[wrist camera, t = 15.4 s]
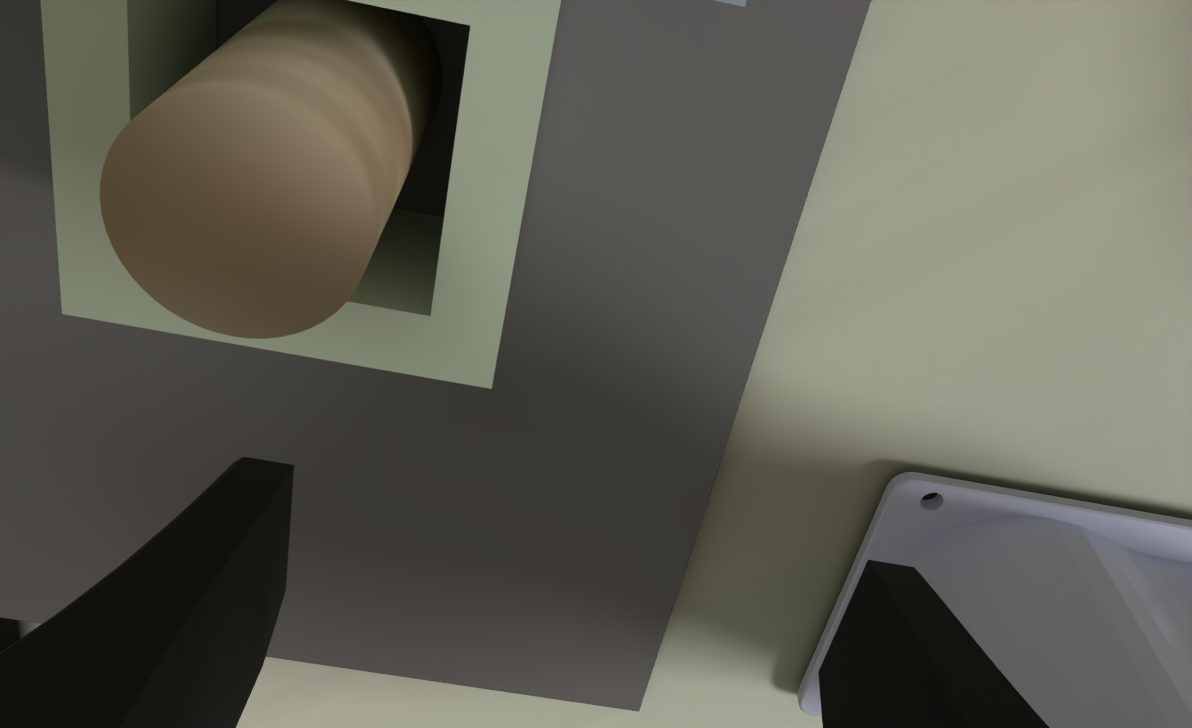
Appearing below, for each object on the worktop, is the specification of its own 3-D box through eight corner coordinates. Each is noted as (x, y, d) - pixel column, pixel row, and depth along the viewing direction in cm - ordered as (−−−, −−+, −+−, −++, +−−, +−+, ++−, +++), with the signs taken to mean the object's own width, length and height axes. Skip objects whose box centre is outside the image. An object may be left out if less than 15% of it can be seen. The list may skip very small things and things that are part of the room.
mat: (975, -343, 16) (983, -345, 16) (638, 699, 29) (638, 711, 28) (-320, -668, 15) (-341, -678, 14) (-90, 591, 27) (-99, 602, 26)
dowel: (429, 174, 20) (357, 358, 14) (253, 140, 20) (104, 313, 14) (453, -3, 19) (382, 122, 13) (261, -44, 18) (94, 64, 12)
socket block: (576, -87, 18) (569, -44, 14) (510, 283, 22) (491, 388, 18) (144, -182, 17) (29, -160, 14) (151, 218, 21) (61, 313, 17)
